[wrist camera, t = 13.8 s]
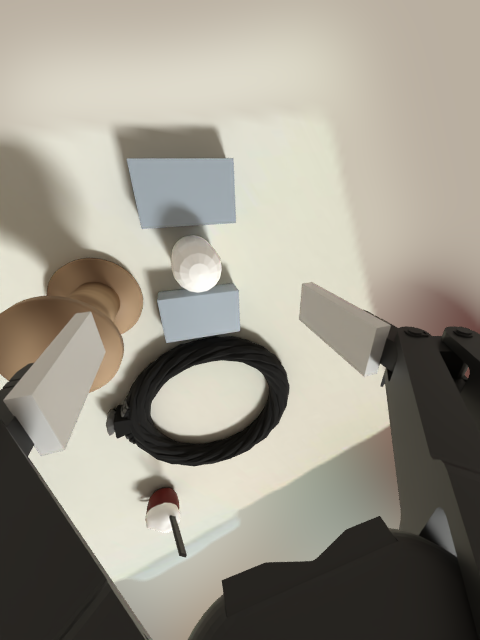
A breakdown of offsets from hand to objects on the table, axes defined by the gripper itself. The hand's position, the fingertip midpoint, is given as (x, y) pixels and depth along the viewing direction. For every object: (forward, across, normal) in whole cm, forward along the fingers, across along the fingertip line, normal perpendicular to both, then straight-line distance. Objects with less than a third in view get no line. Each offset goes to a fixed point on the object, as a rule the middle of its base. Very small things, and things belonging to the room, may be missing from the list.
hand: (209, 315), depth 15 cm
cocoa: (+18, +11, +48) cm, 52 cm away
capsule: (+17, -1, 0) cm, 17 cm away
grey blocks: (+17, -1, 0) cm, 17 cm away
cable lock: (+18, 0, +25) cm, 30 cm away
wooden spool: (+17, +11, +4) cm, 21 cm away
